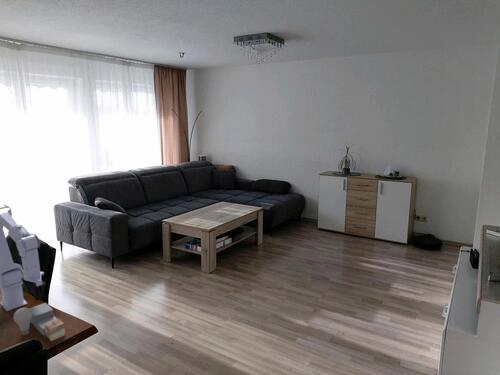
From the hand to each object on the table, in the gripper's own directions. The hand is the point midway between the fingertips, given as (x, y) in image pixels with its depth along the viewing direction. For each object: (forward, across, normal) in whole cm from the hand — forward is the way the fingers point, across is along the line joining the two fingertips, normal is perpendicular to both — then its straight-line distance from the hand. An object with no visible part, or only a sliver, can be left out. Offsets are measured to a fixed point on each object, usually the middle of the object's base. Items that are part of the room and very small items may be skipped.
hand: (35, 296), depth 147 cm
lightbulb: (+10, -9, +7) cm, 15 cm away
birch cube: (+5, -18, 0) cm, 18 cm away
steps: (+10, -7, 0) cm, 12 cm away
